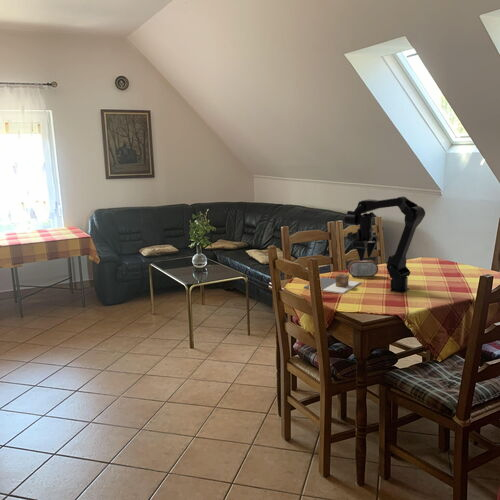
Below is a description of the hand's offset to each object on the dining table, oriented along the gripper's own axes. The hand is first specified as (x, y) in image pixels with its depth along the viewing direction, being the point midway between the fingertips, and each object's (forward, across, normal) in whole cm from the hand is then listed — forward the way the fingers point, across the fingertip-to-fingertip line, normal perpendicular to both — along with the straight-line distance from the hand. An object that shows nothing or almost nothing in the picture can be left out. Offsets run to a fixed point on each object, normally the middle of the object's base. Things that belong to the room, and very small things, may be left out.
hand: (365, 258), depth 238 cm
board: (+12, +11, -12) cm, 20 cm away
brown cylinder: (+11, +11, -7) cm, 17 cm away
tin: (+12, -12, -6) cm, 18 cm away
